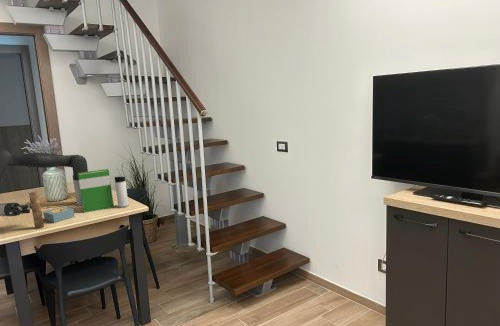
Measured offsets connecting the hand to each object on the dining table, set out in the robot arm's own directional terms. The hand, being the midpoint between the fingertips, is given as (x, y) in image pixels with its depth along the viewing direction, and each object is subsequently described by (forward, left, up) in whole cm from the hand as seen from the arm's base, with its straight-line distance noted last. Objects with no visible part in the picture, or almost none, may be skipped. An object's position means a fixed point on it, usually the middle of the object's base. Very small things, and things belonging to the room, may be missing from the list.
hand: (34, 208), depth 206 cm
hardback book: (-37, -1, -11) cm, 39 cm away
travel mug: (-47, +11, -11) cm, 50 cm away
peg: (0, +1, -11) cm, 11 cm away
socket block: (-14, -5, -11) cm, 19 cm away
